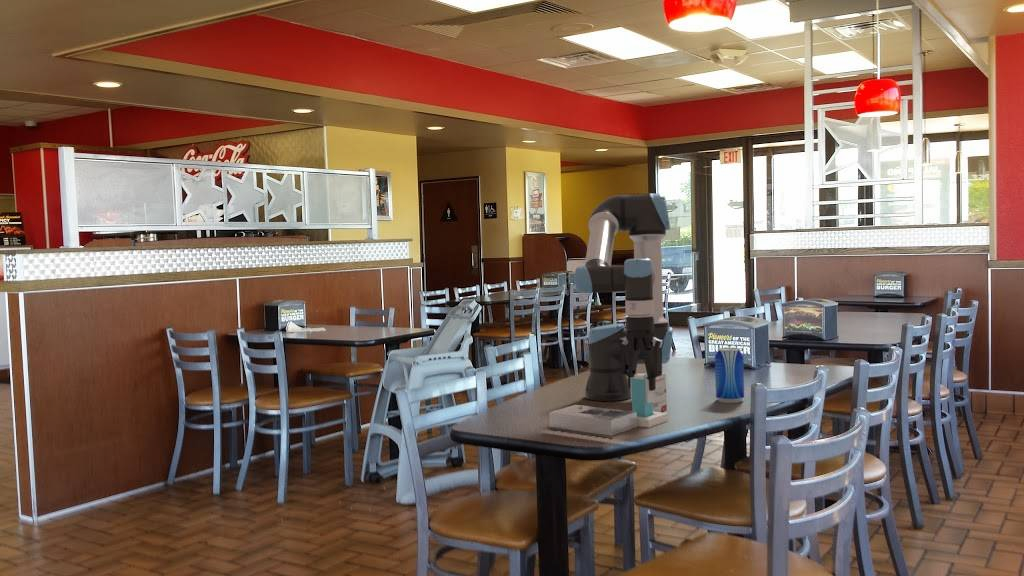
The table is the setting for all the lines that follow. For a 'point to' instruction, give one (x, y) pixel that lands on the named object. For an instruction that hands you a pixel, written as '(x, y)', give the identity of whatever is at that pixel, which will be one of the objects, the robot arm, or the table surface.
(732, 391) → the beer can
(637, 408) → the plug
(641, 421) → the holster
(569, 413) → the port panel
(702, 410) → the table surface
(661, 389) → the ink box
